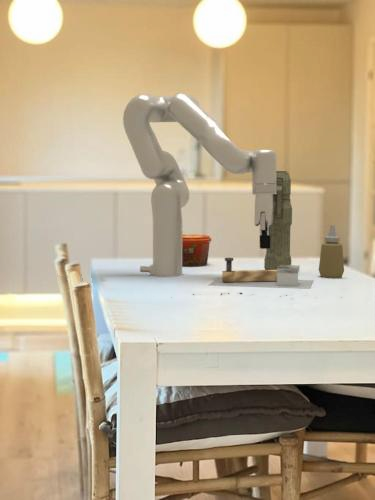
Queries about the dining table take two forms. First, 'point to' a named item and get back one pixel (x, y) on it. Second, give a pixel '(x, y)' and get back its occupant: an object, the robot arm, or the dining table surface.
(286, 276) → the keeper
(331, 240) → the squeeze bottle
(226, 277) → the oak link
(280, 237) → the olive green pillar
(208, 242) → the food container
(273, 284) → the base plate
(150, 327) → the dining table surface
